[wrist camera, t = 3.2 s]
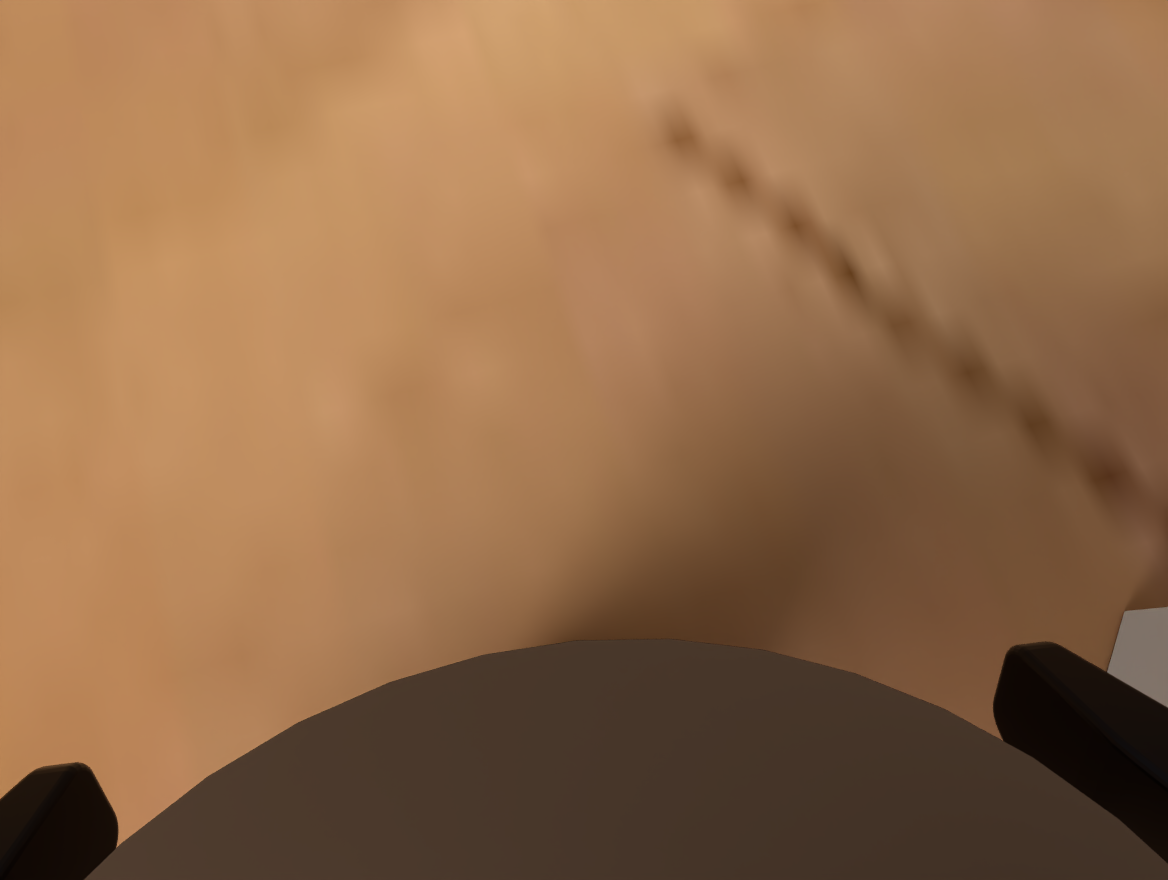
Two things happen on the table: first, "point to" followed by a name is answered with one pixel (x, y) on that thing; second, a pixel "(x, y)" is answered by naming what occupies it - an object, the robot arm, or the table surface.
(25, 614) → the table surface
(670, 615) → the table surface
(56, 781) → the robot arm
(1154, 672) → the socket block
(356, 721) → the walnut peg
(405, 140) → the table surface
